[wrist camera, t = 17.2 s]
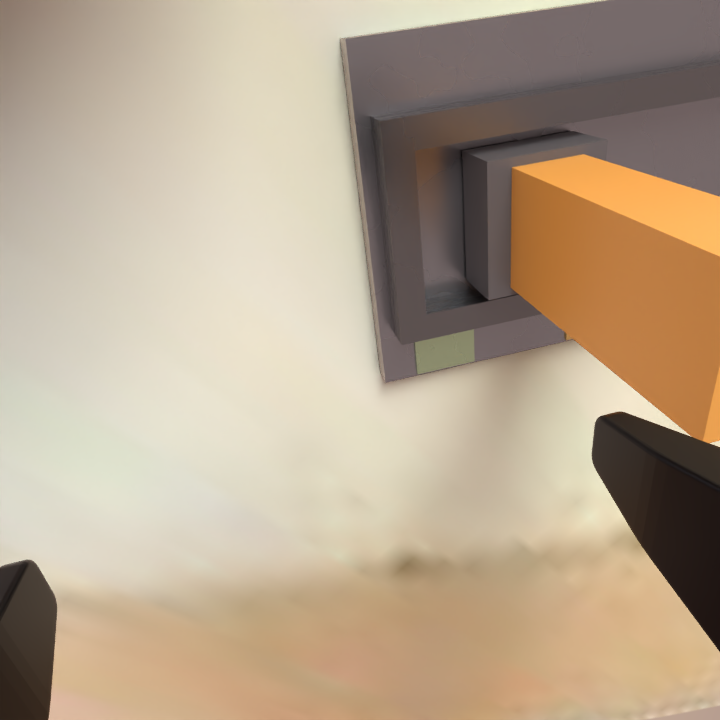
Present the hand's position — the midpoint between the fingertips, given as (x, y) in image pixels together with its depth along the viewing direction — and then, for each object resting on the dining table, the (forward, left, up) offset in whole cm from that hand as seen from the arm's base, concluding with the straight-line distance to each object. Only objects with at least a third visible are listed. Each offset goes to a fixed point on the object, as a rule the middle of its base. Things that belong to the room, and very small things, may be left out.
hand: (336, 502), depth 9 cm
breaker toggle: (+6, -7, -12) cm, 15 cm away
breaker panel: (+8, -10, -13) cm, 18 cm away
